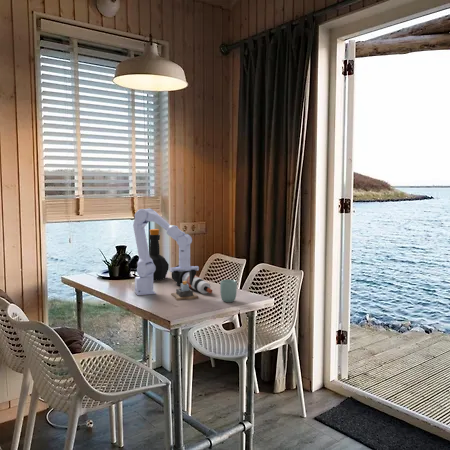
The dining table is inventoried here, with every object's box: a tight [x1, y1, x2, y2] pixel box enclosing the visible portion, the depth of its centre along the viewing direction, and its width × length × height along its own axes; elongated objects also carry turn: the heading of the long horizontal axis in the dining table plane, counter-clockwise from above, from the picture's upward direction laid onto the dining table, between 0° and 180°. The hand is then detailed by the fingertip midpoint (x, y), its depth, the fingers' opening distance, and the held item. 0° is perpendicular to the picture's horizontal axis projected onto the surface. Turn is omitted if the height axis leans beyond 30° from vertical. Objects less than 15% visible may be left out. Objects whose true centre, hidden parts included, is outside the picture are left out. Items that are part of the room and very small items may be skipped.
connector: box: [180, 281, 190, 291], centre depth 223 cm, size 3×4×7 cm
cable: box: [171, 264, 213, 295], centre depth 239 cm, size 10×34×10 cm, turn 34°
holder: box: [170, 287, 199, 301], centre depth 223 cm, size 11×11×4 cm
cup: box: [219, 279, 238, 303], centre depth 215 cm, size 8×8×10 cm
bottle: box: [148, 228, 170, 282], centre depth 265 cm, size 16×16×30 cm
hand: (184, 285), depth 223 cm, fingers open, 6 cm apart
